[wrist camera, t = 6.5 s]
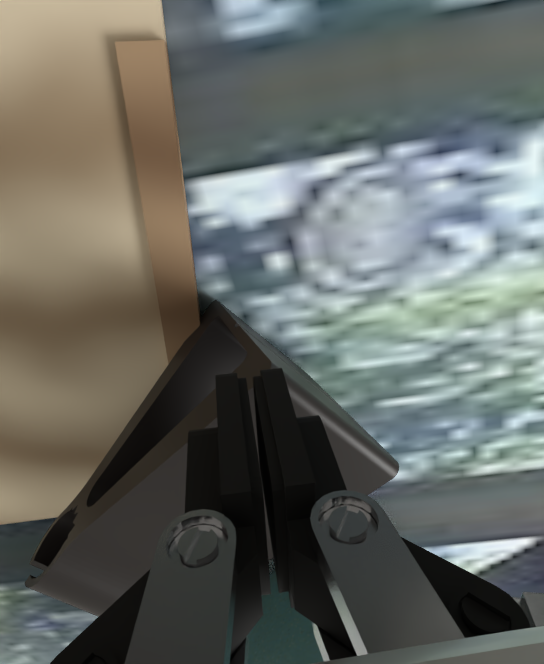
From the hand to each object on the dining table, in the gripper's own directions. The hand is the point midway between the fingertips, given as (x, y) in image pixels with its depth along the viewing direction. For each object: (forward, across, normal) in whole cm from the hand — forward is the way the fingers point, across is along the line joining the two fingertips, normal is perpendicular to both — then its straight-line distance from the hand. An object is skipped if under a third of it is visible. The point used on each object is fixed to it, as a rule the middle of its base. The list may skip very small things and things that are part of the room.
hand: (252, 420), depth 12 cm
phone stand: (+6, -2, +2) cm, 7 cm away
